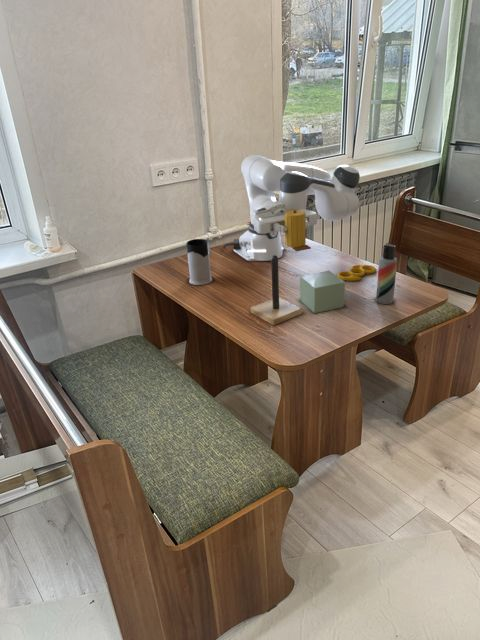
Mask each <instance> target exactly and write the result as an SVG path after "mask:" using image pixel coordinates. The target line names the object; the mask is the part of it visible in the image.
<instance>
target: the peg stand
mask: <svg viewBox="0 0 480 640" xmlns="http://www.w3.org/2000/svg"><path fill="white" fill-rule="evenodd" d="M270 264H271V265H270V266H271V267H270V269H271V299H269V300H266V301H264V302H261V303H258V304H256V305H253V306H250V314H252V315H254V316H256V317H257V318H259V319H261V320H262V321H265V322H267V323H268V324H270V325H272V326H275V325H279V324H280V323H283V322H285V321H287V320H290V319H292V318H295V317H297V316H299V315H301V314H303V309H302V307H300V306H298V305H296V304H294V303H292V302H290V301H288V300H286V299H284V298H282V297H280V280H279V277H280V276H279V275H280V274H279V258H278V257H277V256H276V255H274V256H272V257H271V260H270Z"/></svg>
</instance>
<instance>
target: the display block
mask: <svg viewBox="0 0 480 640" xmlns="http://www.w3.org/2000/svg"><path fill="white" fill-rule="evenodd" d="M337 276H338V275H336V274H335V273H333V272H332V271H331V270H324V271H319V272H314V273H309V274H304V275H300V276H299V301H300V302H301V303H302V304H303V305H304V306H306V307H307V308H308V309H309V310H310V311H311V312H312V313H314V314H317V313H323V312H326V311H331V310H336V309H340V308H341V309H342V308H344V307H345V289H346V281H345V280H341V279H340V278H339V277H337Z"/></svg>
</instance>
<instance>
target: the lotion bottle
mask: <svg viewBox="0 0 480 640" xmlns="http://www.w3.org/2000/svg"><path fill="white" fill-rule="evenodd" d="M382 246H383V247H382V256H380V257H379V261H378V271H377V283H376V295H375V296H376V297H375V300H376V302H377V303H378V304H381V305H391V304H392V303H393V302H394V296H395V287H396V275H397V266H398V258H397V257H395V256H396V245H395V244H392V243H389V242H386V243H384V244H383V245H382Z"/></svg>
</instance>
